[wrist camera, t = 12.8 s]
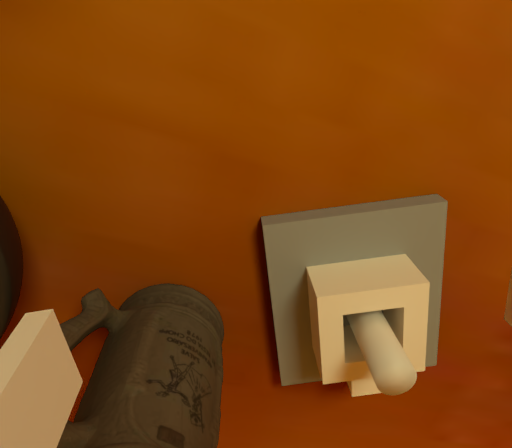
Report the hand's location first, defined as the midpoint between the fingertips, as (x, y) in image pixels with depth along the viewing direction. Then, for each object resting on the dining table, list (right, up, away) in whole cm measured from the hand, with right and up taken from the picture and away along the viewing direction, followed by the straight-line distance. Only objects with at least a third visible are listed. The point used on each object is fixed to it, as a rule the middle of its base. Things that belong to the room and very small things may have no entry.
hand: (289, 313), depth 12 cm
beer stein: (-11, -6, +29) cm, 32 cm away
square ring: (+9, -7, +28) cm, 30 cm away
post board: (+8, -4, +29) cm, 31 cm away
